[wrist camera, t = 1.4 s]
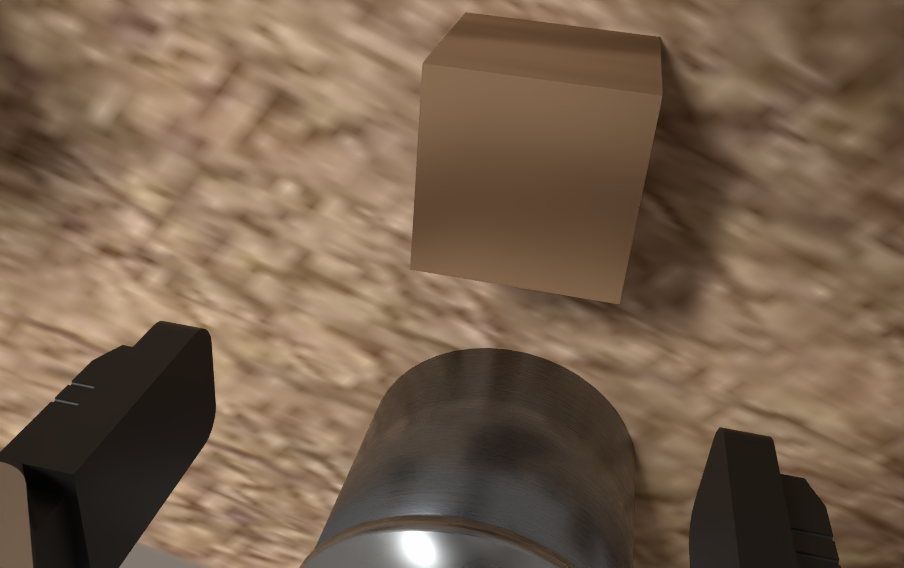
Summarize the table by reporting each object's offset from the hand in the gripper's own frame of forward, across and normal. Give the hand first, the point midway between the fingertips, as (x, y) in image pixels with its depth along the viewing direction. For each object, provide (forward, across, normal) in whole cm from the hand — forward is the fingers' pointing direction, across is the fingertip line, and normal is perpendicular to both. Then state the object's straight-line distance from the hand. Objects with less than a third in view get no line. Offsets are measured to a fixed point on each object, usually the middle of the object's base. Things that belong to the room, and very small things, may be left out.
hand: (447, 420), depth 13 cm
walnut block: (+14, 0, 0) cm, 14 cm away
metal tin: (+14, 0, +13) cm, 20 cm away
